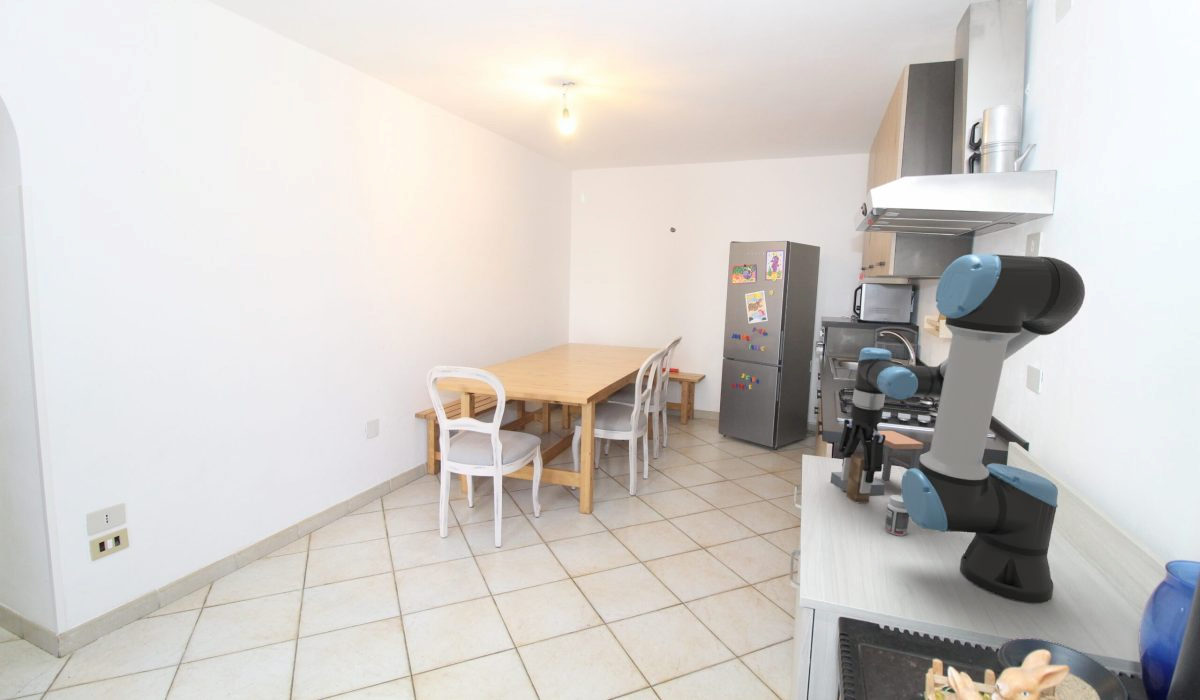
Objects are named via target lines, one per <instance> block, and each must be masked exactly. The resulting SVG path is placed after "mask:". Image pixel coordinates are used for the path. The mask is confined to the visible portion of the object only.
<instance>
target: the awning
mask: <svg viewBox="0 0 1200 700" xmlns="http://www.w3.org/2000/svg"><path fill="white" fill-rule="evenodd" d="M878 433H880V434H881V435H885V437H886V438H885V441H884V444H883V446H885V450H884V456H883V457H884V459H883V463H882V471H881V473H882V474H881V480H882V481H884V482H889V481H890V478H891V472H892V464H895V465H898V466H900V467H901V468H904V469H906V470H908V469H912V468H918V464H919V459H920V456H921V455H922V454H921V452H922V450H923V448H924V443H923V442H921V441H918V440H916V439H914V438H910V437H909V436H907V435H903V434H901V433H898V432H897V431H894V430H878ZM894 450H911V454H910V463H905V461H904V462H903V461H902V460H899V459H897V458H895V457H893V456H894Z"/></svg>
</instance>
